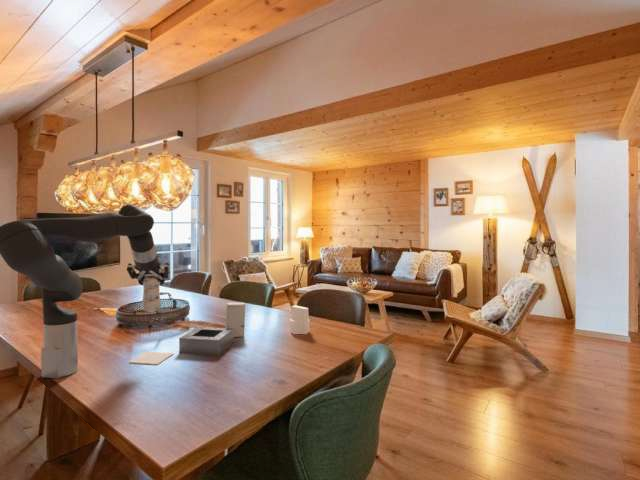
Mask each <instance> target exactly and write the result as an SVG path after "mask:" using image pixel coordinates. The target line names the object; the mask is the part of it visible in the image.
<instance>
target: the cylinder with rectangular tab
mask: <svg viewBox="0 0 640 480" xmlns="http://www.w3.org/2000/svg"><path fill="white" fill-rule="evenodd" d="M290 308H291V309H290V310H291V312H290V314H291V315H290V317H291V318H290V319H289V321H290V322H289V326H290V327H289V333H290V332H291V333H293V334H292V335H294V334H305V333H308V332H309V333H310V318H309V307H305V306H301V305H296V304H295V305H291V306H290ZM291 333H290V334H291ZM309 333H308V334H309ZM305 335H306V334H305Z"/></svg>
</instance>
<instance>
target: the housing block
mask: <svg viewBox="0 0 640 480" xmlns="http://www.w3.org/2000/svg"><path fill="white" fill-rule="evenodd" d="M234 338H235V337H234V329H230V328H226V327H211V326H210V327H208V326H207V327H205V326H198V327H196V328H193V330H190V331H189V332H187V333H186V334H184V335H182V336H181V337H179V340H178V341H179V342H178V344H179V349H178V350H179V351H178V352H179V354H187V355H203V356H217V357H219V356H220V355H221V354H222V353H223V352H224V351H227V349H228V348H229V347H231V345H232V343H234V342H235V341H234V340H235V339H234Z"/></svg>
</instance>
